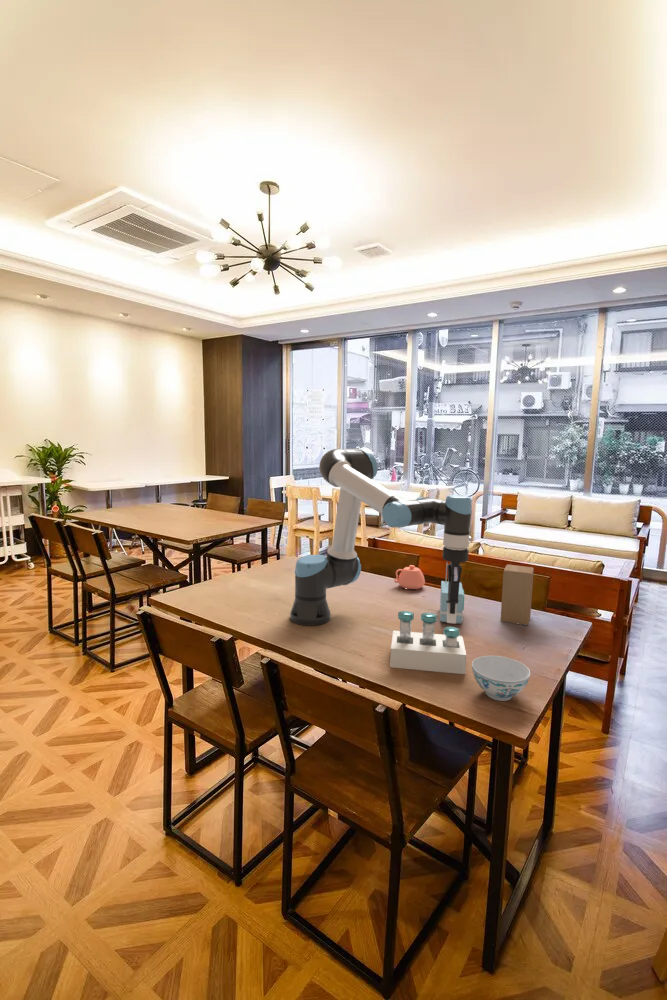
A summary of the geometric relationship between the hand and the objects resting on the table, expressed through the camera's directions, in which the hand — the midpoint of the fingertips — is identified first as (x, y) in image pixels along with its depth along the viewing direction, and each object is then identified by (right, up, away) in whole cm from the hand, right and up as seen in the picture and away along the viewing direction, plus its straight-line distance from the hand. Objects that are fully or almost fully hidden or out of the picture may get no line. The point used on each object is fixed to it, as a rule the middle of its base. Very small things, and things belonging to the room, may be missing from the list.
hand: (451, 622), depth 154 cm
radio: (+10, -8, +40) cm, 42 cm away
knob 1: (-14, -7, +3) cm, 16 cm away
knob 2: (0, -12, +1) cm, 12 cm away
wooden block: (+34, -9, +39) cm, 52 cm away
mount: (-7, -12, +3) cm, 14 cm away
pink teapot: (-1, -3, +77) cm, 77 cm away
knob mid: (-7, -7, +2) cm, 10 cm away
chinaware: (+9, -16, -17) cm, 25 cm away
